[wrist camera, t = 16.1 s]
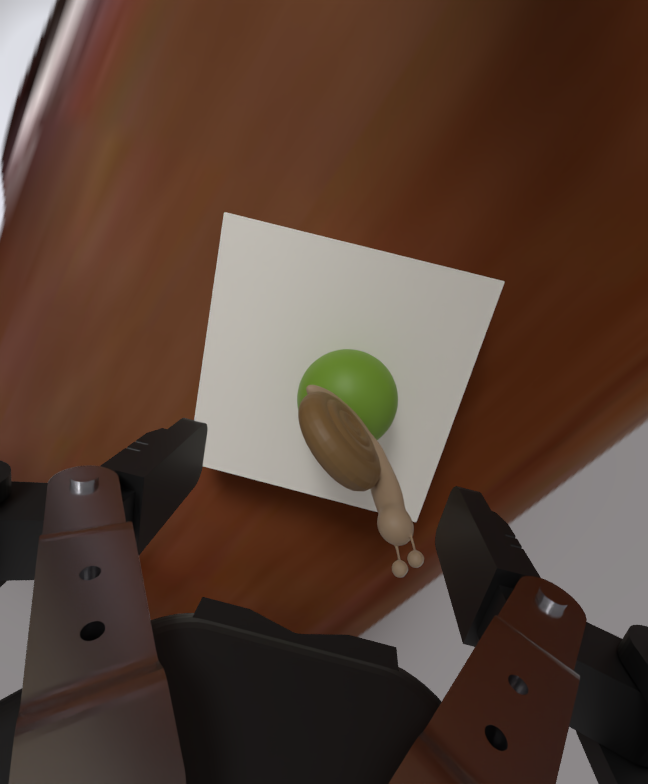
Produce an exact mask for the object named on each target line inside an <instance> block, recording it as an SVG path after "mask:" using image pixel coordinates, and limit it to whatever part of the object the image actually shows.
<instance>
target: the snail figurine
mask: <svg viewBox="0 0 648 784" xmlns="http://www.w3.org/2000/svg"><path fill="white" fill-rule="evenodd" d="M297 406H298V420H299V425H300V429H301V432H302V435H303V437H304V439H305V442H306V444H307V446H308V447H309V449H310V451H311V453H312V454H313V456H314V457H315V459H316V460H317V461H318V463H319V464H320V465H321V466H322V468H323V469H324V470H325V471H326V472H327V473H328V474H329V475H330V476H331V477H332V478H333V479H334V480H335V481H336V482H338V483H339V484H341V485H342V486H344V487H345V488H347V489H350V490H352V491H366V490H369V489H371V494H372V497H373V500H374V503H375V506H376V509H377V511H378V519H377V526H378V530H379V532H380V534H381V536H382V537H383V538H384V539H385V540H386V541H387V542H389V543H390V544H393V545H394V546H395V548H396V551H397V556H398V560H397V561H395V562H394V563H393V565H392V572H393V574H394V575H395V576H396V577H400V578H401V577H404V576H405V575H406V574H407V572H408V566H407V564H406V563H405V562H404V561H402V560H400V555H399V549H398V546H399V545H405V544H407V543H408V542H409V541H410V540H411V543H412V546H413V551H411V552H410V553H409V554H408V558H407V559H408V563H409V564H410V566H412V567H414V568H418V567H420V566H421V565H422V564H423V562H424V557H423V555H422V553H421V552H419V551H417V550H416V549H415V545H414V541H413V538H412V536H413V532H414V526H413V522H412V519H411V517H410V516H409V514H408V512H407V511H406V509H405V505H404V499H403V494H402V491H401V488H400V485H399V482H398V480H397V477H396V475H395V473H394V471H393V469H392V466H391V465H390V463H389V461H388V459H387V456H386V454H385V452H384V450H383V448H382V447H381V445H380V444H379V442H378V441H377V440H378V439H380V438H381V437H382V436H383V435H384V434H385V433H386V432H387V430H388V429H389V428H390V426H391V424H392V422H393V420H394V418H395V415H396V412H397V407H398V392H397V387H396V384H395V381H394V379H393V377H392V375H391V373H390V372H389V370H388V369H387V368H386V366H385V365H384V364H383V363H382V362H381V361H379V360H378V359H377V358H375V357H374V356H372V355H370V354H368V353H366V352H363V351H359V350H353V349H342V350H336V351H332V352H329V353H327V354H325V355H323V356H321V357H320V358H318V359H317V360H316V361H314V362H313V363H312V364H311V365H310V366H309V368H308V369H307V370H306V372H305V373H304V375H303V377H302V379H301V381H300V384H299V388H298V393H297Z"/></svg>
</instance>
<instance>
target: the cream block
mask: <svg viewBox="0 0 648 784" xmlns="http://www.w3.org/2000/svg"><path fill="white" fill-rule="evenodd" d="M504 282H505V281H501V280H497V279H493V278H489V277H485V276H481V275H477V274H473V273H469V272H465V271H461V270H457V269H453V268H448V267H444V266H440V265H436V264H432V263H428V262H424V261H420V260H416V259H412V258H408V257H404V256H400V255H396V254H392V253H388V252H384V251H380V250H376V249H372V248H368V247H364V246H359V245H355V244H351V243H347V242H343V241H339V240H335V239H331V238H327V237H323V236H319V235H315V234H311V233H307V232H303V231H299V230H295V229H291V228H287V227H283V226H279V225H274V224H270V223H266V222H262V221H258V220H254V219H250V218H246V217H242V216H238V215H234V214H230V213H226V212H224V217H223V224H222V231H221V238H220V245H219V252H218V259H217V266H216V273H215V280H214V287H213V293H212V300H211V307H210V314H209V321H208V328H207V335H206V342H205V349H204V356H203V363H202V370H201V377H200V384H199V391H198V398H197V405H196V412H195V419H194V421H198V422H202V423H206V424H207V427H208V431H207V438H206V445H205V452H204V459H203V466H204V467H208V468H212V469H216V470H219V471H223V472H227V473H231V474H235V475H238V476H242V477H246V478H250V479H254V480H257V481H261V482H265V483H269V484H273V485H276V486H280V487H284V488H288V489H292V490H295V491H299V492H303V493H307V494H311V495H314V496H318V497H322V498H326V499H330V500H333V501H337V502H341V503H345V504H349V505H352V506H356V507H360V508H364V509H368V510H371V511H375V512H378V511H377V509H376V506H375V503H374V500H373V497H372V494H371V489H369V490H366V491H352V490H350V489H347V488H345V487H344V486H342V485H341V484H339V483H338V482H336V481H335V480H334V479H333V478H332V477H331V476H330V475H329V474H328V473H327V472H326V471H325V470H324V469H323V468H322V466H321V465H320V464H319V463H318V461H317V460H316V459H315V457H314V456H313V454H312V453H311V451H310V449H309V447H308V446H307V444H306V442H305V439H304V437H303V435H302V432H301V429H300V425H299V420H298V406H297V393H298V388H299V384H300V381H301V379H302V377H303V375H304V373H305V372H306V370H307V369H308V368H309V366H310V365H311V364H312V363H313V362H314V361H316V360H317V359H318V358H320V357H321V356H323V355H325V354H327V353H329V352H332V351H336V350H342V349H353V350H359V351H363V352H366V353H368V354H370V355H372V356H374V357H375V358H377V359H378V360H379V361H381V362H382V363H383V364H384V365H385V366H386V368H387V369H388V370H389V372H390V373H391V375H392V377H393V379H394V381H395V384H396V387H397V392H398V407H397V412H396V415H395V418H394V420H393V422H392V424H391V426H390V428H389V429H388V430H387V432H386V433H385V434H384V435H383V436H382V437H381V438H380V439H378V440H377V441H378V442H379V444H380V445H381V447H382V448H383V450H384V452H385V454H386V456H387V459H388V461H389V463H390V465H391V466H392V469H393V471H394V473H395V475H396V477H397V480H398V482H399V485H400V488H401V491H402V494H403V499H404V505H405V509H406V511H407V512H408V514H409V516H410V517H411V519H412V521H413V522H417V519H418V517H419V514H420V511H421V508H422V506H423V503H424V500H425V497H426V495H427V492H428V489H429V487H430V484H431V481H432V478H433V476H434V473H435V470H436V468H437V465H438V462H439V459H440V457H441V454H442V451H443V448H444V446H445V443H446V440H447V438H448V435H449V432H450V429H451V427H452V424H453V421H454V418H455V416H456V413H457V410H458V408H459V405H460V402H461V399H462V397H463V394H464V391H465V389H466V386H467V383H468V380H469V378H470V375H471V372H472V369H473V367H474V364H475V361H476V359H477V356H478V353H479V350H480V348H481V345H482V342H483V340H484V337H485V334H486V331H487V329H488V326H489V323H490V320H491V318H492V315H493V312H494V310H495V307H496V304H497V301H498V299H499V296H500V293H501V291H502V288H503V285H504Z"/></svg>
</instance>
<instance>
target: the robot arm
mask: <svg viewBox="0 0 648 784" xmlns="http://www.w3.org/2000/svg"><path fill="white" fill-rule="evenodd" d="M207 431H208V427H207V424H206V423H202V422H198V421H194V420H190V419H186V418H182V419H180V420H179V421H178V422H177V423H175V424H174V425H173V426H171V427H170V428H169V429H163V428H161V429H158V430H155V431H152V432H149V433H146V434H145V435H143V436H142V437H141V438H139V439H138V440H136V442H133V443H132V444H131V445H129V446H128V447H127V449H126V448H125V449H124V450H122V451H121V452H119V453H118V454H117V455H115V456H114V457H112V458H111V459H109V460H108V461H107V462H105V463H104V464H102V465H101V466H78V467H73V468H69V469H66V470H63V471H61V472H59V473H57V474H56V475H54V476H53V477H52V478H51V479H50V480H49V482H48V483H34V482H12V481H11V468H10V466H9V465H8V464H7V463H5V462H3V461H0V587H1V586H2V585H3V584H4V583H5V582H6V581H7V580H34V588H33V597H32V606H31V615H30V624H29V632H28V641H27V650H26V659H25V668H24V678H23V687H22V689H20V690H18V691H16V692H14V693H13V694H11V695H9V696H7V697H5V698H3V699H2V700H0V784H556V780H557V776H558V771H559V767H560V763H561V759H562V754H563V750H564V745H565V741H566V737H567V733H568V729H569V727H571V728H573V729H575V730H576V732H577V735H578V737H579V740H580V742H581V744H582V746H583V749H584V751H585V753H586V756H587V758H588V760H589V763H590V764H591V767H592V769H593V772H594V774H595V776H596V779H597V781H598V783H599V784H648V627H647V626H642V625H633V626H631V627H630V628H629V629H628V631H627V633H626V634H625V636H624V638H623V639H621V638H619V637H617V636H615V635H613V634H610V633H608V632H606V631H604V630H602V629H600V628H598V627H596V626H593V625H592V624H590V623H588V622H586V615H585V613H584V611H583V609H582V608H581V607H580V605H579V604H578V603H577V602H576V601H575V600H574V599H573V598H572V597H571V596H570V595H569V594H568V593H566V592H565V591H564V590H563V589H561V588H559V587H558V586H556V585H554V584H553V583H551V582H549V581H547V580H544V579H542V578H540V576H539V574H538V573H537V571H536V569H535V568H534V566H533V564H532V563H531V561H530V559H529V558H528V556H527V555H526V553H525V551H524V550H523V549H521V545H520V543H519V541H518V540H517V539H515V535H514V533H513V532H512V530H511V528H510V527H509V525H508V524H507V523H506V522H505V521H504V520H503V519H502V518H501V517H500V516H499V515H498V514H497V513H495V512H493V511H491V510H490V508H489V506H488V504H487V503H486V501H485V499H484V497H483V496H482V494H481V493H480V492H477V491H473V490H469V489H465V488H461V487H457V486H456V487H454V488H453V489H452V491H451V493H450V495H449V498H448V501H447V503H446V506H445V509H444V511H443V514H442V516H441V519H440V522H439V524H438V527H437V531H436V537H435V545H436V550H437V554H438V557H439V561H440V564H441V568H442V571H443V575H444V578H445V582H446V585H447V589H448V592H449V596H450V599H451V603H452V607H453V610H454V613H455V617H456V620H457V624H458V627H459V631H460V634H461V638H462V642H463V644H466V645H470V646H474V647H475V648H474V650H473V652H472V653H471V655H470V657H469V658H468V660H467V662H466V663H465V665H464V667H463V668H462V670H461V671H460V673H459V675H458V676H457V678H456V679H455V681H454V683H453V684H452V686H451V688H450V689H449V691H448V692H447V694H446V696H445V697H444V699H443V701H442V702H441V701H440V700H439V698H438V697H437V696H436V695H435V694H434V693H433V692H432V691H431V690H430V689H429V688H428V687H426V686H425V685H424V684H423V683H422V682H420V681H419V680H418V679H417V678H415V677H414V676H412V675H411V674H409V673H408V672H406V671H405V670H403V669H401V668H399V667H398V660H397V650H396V647H393V646H388V645H385V644H381V643H378V642H374V641H370V640H366V639H362V638H358V637H355V636H351V635H321V634H297V633H294V632H292V631H290V630H288V629H286V628H284V627H282V626H280V625H278V624H277V623H275V622H273V621H271V620H269V619H267V618H265V617H263V616H262V615H260V614H258V613H256V612H254V611H252V610H250V609H247V608H243V607H239V606H236V605H232V604H228V603H224V602H220V601H216V600H213V599H209V598H205V597H202V599H201V601H200V603H199V605H198V607H197V609H196V611H195V613H184V614H174V615H169V616H165V617H160V618H157V619H154V620H150V615H149V609H148V604H147V599H146V593H145V588H144V583H143V577H142V572H141V566H140V561H139V555H140V553H141V552H142V551H143V550H144V548H145V547H146V546H147V545H148V544H149V542H150V541H151V540H152V539H153V537H154V536H155V535H156V534H157V532H158V531H159V530H160V529H161V527H162V526H163V525H164V524H165V523H166V521H167V520H168V519H169V518H170V516H171V515H172V514H173V513H174V511H175V510H176V509H177V508H178V506H179V505H180V504H181V503H182V502H183V500H184V499H185V498H186V497H187V495H188V494H189V493H190V492H191V490H192V489H193V488H194V487H195V485H196V484H197V482H198V480H199V477H200V474H201V471H202V466H203V459H204V452H205V445H206V438H207Z"/></svg>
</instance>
